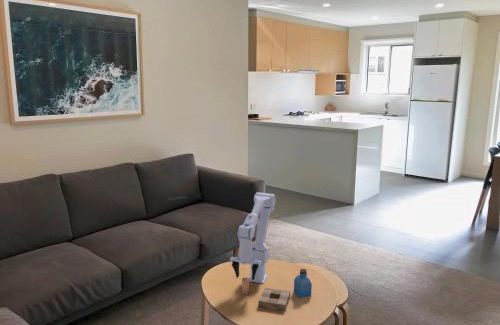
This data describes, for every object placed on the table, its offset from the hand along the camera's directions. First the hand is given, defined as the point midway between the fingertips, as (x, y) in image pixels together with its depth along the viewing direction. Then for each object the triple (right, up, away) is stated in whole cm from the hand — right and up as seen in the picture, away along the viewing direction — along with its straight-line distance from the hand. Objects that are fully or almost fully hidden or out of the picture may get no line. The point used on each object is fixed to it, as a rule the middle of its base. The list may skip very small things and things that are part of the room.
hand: (245, 277), depth 187 cm
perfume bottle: (+27, -8, +1) cm, 28 cm away
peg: (0, -8, +2) cm, 8 cm away
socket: (+13, -9, -6) cm, 17 cm away
